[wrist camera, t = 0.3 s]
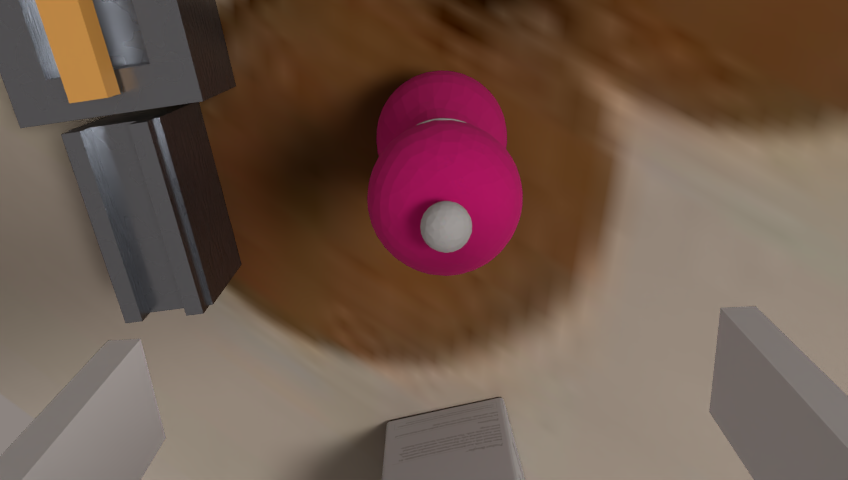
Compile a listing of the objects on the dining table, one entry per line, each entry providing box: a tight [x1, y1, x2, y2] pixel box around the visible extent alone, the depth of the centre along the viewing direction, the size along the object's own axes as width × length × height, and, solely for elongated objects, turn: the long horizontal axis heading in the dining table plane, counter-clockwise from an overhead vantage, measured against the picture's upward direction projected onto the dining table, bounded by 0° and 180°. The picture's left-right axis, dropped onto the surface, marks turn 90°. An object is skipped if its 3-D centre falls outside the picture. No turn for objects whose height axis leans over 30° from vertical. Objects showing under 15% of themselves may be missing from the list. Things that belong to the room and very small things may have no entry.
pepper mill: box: [367, 71, 523, 276], centre depth 31 cm, size 7×7×20 cm
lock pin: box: [35, 0, 121, 103], centre depth 30 cm, size 9×5×3 cm, turn 8°
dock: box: [0, 0, 241, 323], centre depth 37 cm, size 22×10×7 cm, turn 8°
